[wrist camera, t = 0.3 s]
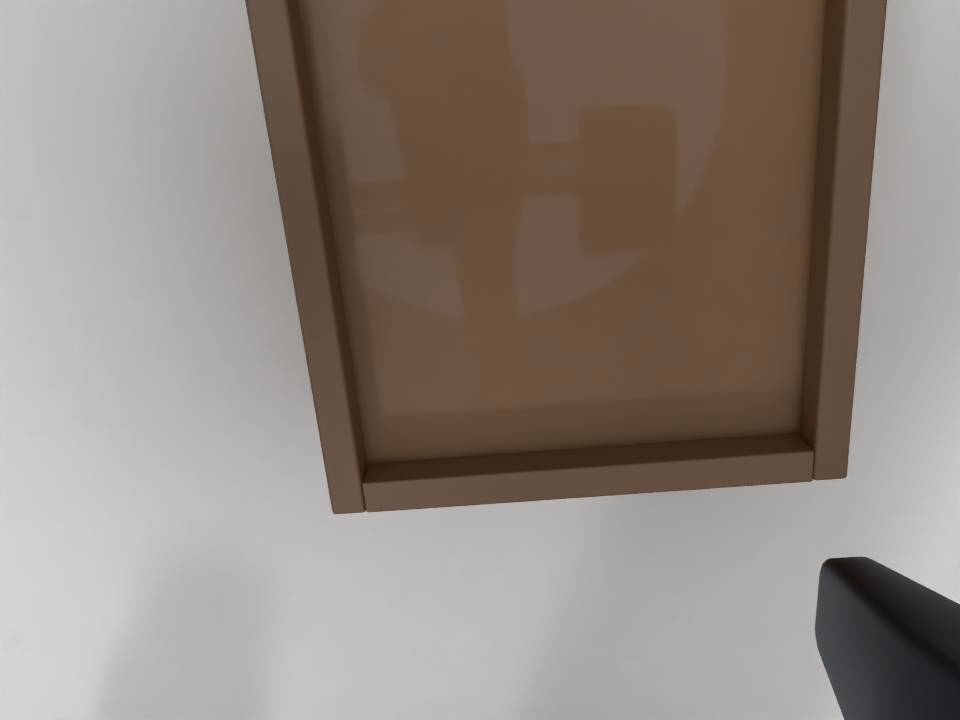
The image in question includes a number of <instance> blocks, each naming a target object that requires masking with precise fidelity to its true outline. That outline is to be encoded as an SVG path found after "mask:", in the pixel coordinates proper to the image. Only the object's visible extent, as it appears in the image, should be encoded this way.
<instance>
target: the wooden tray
mask: <svg viewBox="0 0 960 720" xmlns="http://www.w3.org/2000/svg"><path fill="white" fill-rule="evenodd" d="M245 2H246V8H247V14H248V19H249V25H250V31H251V37H252V43H253V49H254V55H255V60H256V66H257V72H258V78H259V84H260V90H261V96H262V101H263V107H264V113H265V119H266V125H267V131H268V137H269V142H270V148H271V154H272V160H273V166H274V172H275V178H276V184H277V189H278V195H279V201H280V207H281V213H282V219H283V225H284V230H285V236H286V242H287V248H288V254H289V260H290V266H291V271H292V277H293V283H294V289H295V295H296V301H297V307H298V312H299V318H300V324H301V330H302V336H303V342H304V348H305V353H306V359H307V365H308V371H309V377H310V383H311V389H312V394H313V400H314V406H315V412H316V418H317V424H318V430H319V436H320V441H321V447H322V453H323V459H324V465H325V471H326V477H327V482H328V488H329V494H330V500H331V506H332V511H333V513H334V514H344V513H358V512H364V511H365V510H366V511H367V512H380V511H394V510H408V509H423V508H437V507H452V506H466V505H480V504H495V503H509V502H523V501H538V500H552V499H566V498H581V497H595V496H609V495H624V494H638V493H653V492H667V491H681V490H696V489H710V488H724V487H739V486H753V485H767V484H782V483H796V482H811V481H812V479H814V480H827V479H842V478H846V476H847V466H848V454H849V442H850V430H851V418H852V407H853V395H854V383H855V371H856V359H857V348H858V336H859V324H860V312H861V300H862V288H863V277H864V265H865V253H866V241H867V229H868V218H869V206H870V194H871V182H872V170H873V159H874V147H875V135H876V123H877V111H878V100H879V88H880V76H881V64H882V52H883V41H884V29H885V17H886V5H887V0H245Z"/></svg>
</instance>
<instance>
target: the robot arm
mask: <svg viewBox="0 0 960 720" xmlns="http://www.w3.org/2000/svg"><path fill="white" fill-rule="evenodd" d="M815 634H816V641H817V646H818V650H819V653H820V656H821V658H822V661H823V664H824V666H825V669H826V672H827V674H828V677H829V680H830V682H831V685H832V688H833V690H834V693H835V696H836V698H837V701H838V704H839V706H840V709H841V712H842V714H843V717H844V720H960V604H958V603H956V602H954V601H952V600H950V599H948V598H946V597H944V596H942V595H940V594H938V593H936V592H934V591H932V590H930V589H929V588H927V587H925V586H923V585H921V584H919V583H917V582H915V581H913V580H911V579H909V578H907V577H905V576H903V575H901V574H899V573H897V572H895V571H893V570H891V569H889V568H887V567H885V566H884V565H882V564H880V563H878V562H876V561H874V560H872V559H870V558H867V557H847V558H830V559H828V560H826V561H825V562H824V563H823V565H822V567H821V570H820V576H819V588H818V599H817V611H816V622H815Z"/></svg>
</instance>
